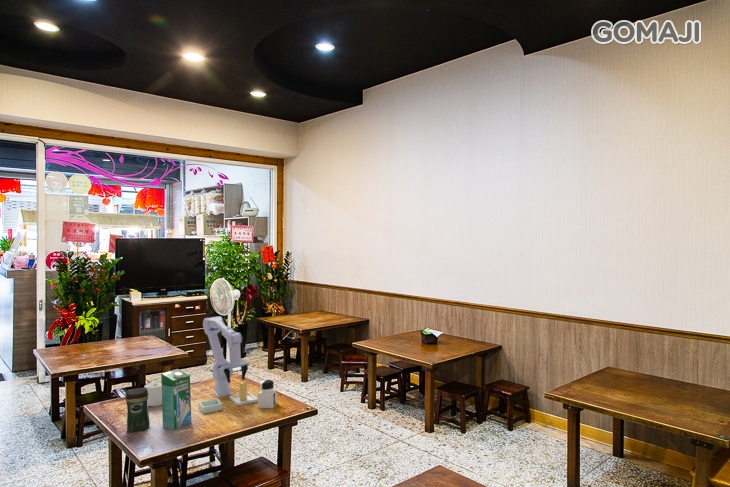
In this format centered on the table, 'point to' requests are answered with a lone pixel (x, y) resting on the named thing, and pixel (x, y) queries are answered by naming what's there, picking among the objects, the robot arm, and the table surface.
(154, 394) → the toilet tissue
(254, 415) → the table surface
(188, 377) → the milk carton
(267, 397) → the container
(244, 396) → the peg
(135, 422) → the coffee jar
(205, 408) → the square storage bin
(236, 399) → the tray
